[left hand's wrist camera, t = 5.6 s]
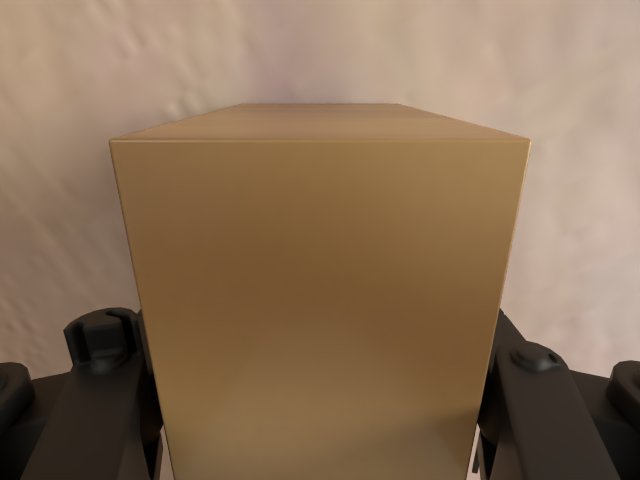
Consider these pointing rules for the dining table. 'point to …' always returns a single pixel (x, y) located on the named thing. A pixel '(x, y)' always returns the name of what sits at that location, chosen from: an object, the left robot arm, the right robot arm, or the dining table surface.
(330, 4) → the dining table surface
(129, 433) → the left robot arm
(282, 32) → the dining table surface
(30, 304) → the dining table surface
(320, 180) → the bar
